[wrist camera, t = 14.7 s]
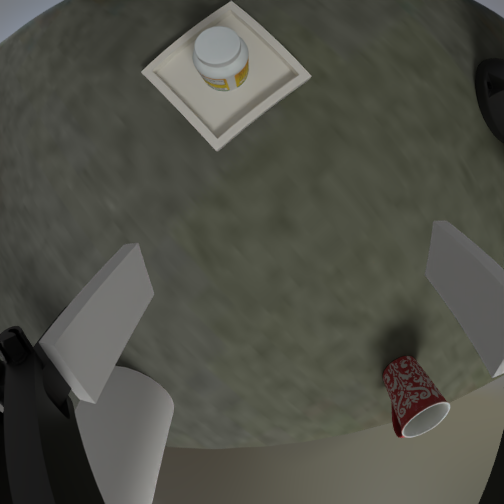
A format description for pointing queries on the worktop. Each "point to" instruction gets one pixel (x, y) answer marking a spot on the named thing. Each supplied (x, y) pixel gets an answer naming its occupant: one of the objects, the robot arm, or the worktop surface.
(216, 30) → the supplement bottle
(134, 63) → the worktop surface
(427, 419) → the mug
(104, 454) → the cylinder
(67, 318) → the robot arm
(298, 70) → the tray
